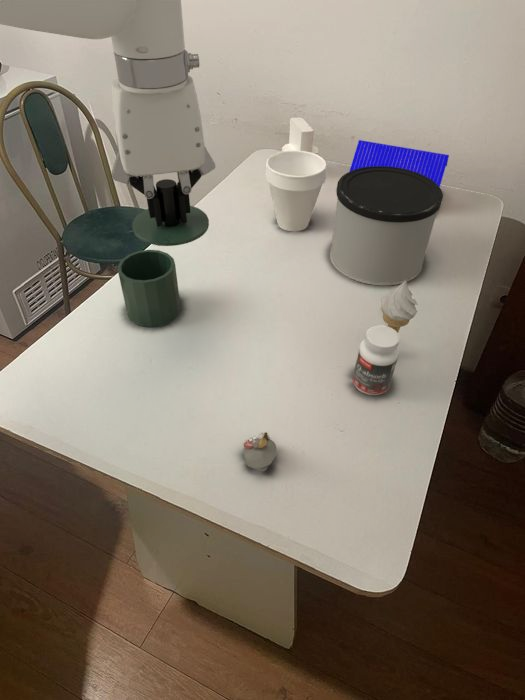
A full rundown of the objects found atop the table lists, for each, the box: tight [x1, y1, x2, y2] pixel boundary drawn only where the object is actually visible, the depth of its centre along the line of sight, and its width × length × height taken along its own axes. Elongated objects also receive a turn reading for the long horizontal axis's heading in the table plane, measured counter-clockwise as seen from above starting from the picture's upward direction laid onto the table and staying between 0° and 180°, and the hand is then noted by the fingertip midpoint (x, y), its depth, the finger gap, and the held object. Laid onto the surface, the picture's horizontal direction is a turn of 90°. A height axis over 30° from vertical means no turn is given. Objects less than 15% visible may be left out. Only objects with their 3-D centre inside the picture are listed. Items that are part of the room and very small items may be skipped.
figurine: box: [242, 431, 278, 472], centre depth 67 cm, size 5×4×6 cm
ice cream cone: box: [380, 280, 419, 334], centre depth 78 cm, size 6×6×15 cm
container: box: [329, 166, 444, 287], centre depth 98 cm, size 19×19×15 cm
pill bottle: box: [352, 324, 400, 396], centre depth 76 cm, size 6×6×10 cm
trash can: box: [117, 249, 181, 328], centre depth 88 cm, size 9×9×10 cm
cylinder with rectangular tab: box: [281, 116, 319, 155], centre depth 126 cm, size 9×9×12 cm
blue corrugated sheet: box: [348, 139, 450, 188], centre depth 118 cm, size 12×20×12 cm, turn 68°
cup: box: [265, 150, 328, 232], centre depth 108 cm, size 12×12×14 cm
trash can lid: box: [131, 178, 210, 247], centre depth 68 cm, size 10×10×7 cm
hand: (170, 218), depth 69 cm, fingers closed on trash can lid, 2 cm apart
